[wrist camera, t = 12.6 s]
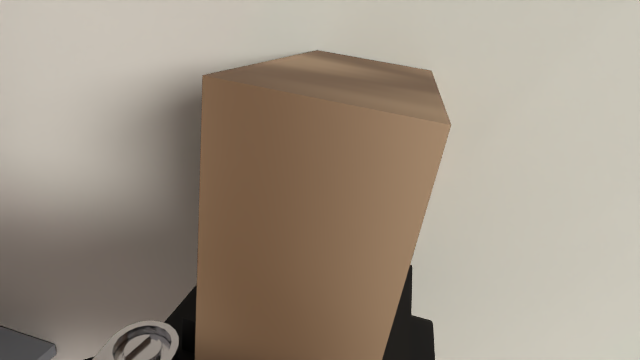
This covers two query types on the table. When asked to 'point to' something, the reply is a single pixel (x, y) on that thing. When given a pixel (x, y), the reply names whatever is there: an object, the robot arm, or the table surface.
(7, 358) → the grey bent bar
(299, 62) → the brown rectangular block
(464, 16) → the table surface
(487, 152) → the table surface
